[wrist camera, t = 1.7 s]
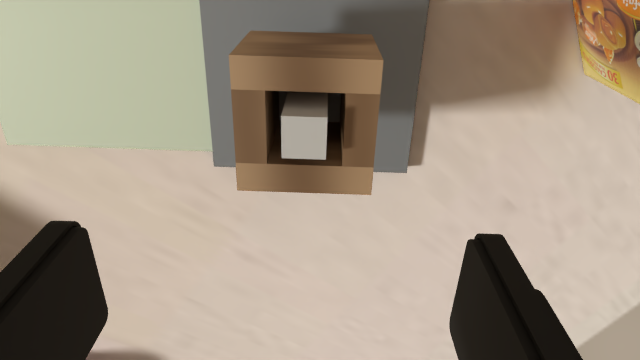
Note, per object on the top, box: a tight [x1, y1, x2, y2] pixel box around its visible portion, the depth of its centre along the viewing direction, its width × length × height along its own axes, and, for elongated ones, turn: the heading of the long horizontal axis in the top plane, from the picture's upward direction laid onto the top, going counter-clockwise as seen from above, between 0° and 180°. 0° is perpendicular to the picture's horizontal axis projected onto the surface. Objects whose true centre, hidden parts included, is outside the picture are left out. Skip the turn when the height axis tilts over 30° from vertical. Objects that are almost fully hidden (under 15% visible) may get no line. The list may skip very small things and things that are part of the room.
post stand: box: [199, 0, 429, 173], centre depth 25 cm, size 14×14×12 cm
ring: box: [229, 31, 384, 195], centre depth 24 cm, size 7×7×6 cm
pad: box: [0, 0, 213, 152], centre depth 29 cm, size 16×16×1 cm
